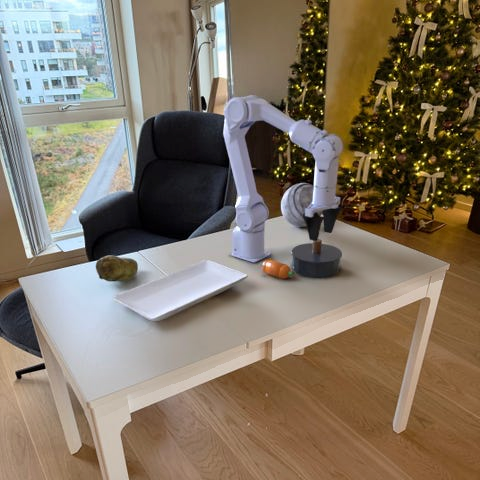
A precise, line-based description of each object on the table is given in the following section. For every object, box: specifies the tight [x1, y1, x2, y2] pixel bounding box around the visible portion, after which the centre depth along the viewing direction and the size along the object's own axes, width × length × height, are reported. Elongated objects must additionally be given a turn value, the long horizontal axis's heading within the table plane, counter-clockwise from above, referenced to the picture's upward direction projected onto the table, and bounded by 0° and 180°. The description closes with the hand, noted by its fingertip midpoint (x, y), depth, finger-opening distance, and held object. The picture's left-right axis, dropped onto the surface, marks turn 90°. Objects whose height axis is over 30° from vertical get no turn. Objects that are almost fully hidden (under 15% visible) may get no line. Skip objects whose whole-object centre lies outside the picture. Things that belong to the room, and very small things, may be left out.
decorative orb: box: [280, 182, 323, 228], centre depth 157 cm, size 15×14×15 cm
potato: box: [95, 254, 139, 283], centre depth 121 cm, size 8×13×8 cm, turn 131°
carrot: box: [261, 259, 295, 280], centre depth 123 cm, size 10×4×4 cm, turn 50°
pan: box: [291, 256, 341, 279], centre depth 127 cm, size 13×13×4 cm
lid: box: [290, 238, 343, 264], centre depth 125 cm, size 14×14×5 cm
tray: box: [113, 259, 249, 322], centre depth 113 cm, size 17×31×4 cm, turn 136°
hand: (320, 236), depth 122 cm, fingers open, 7 cm apart
